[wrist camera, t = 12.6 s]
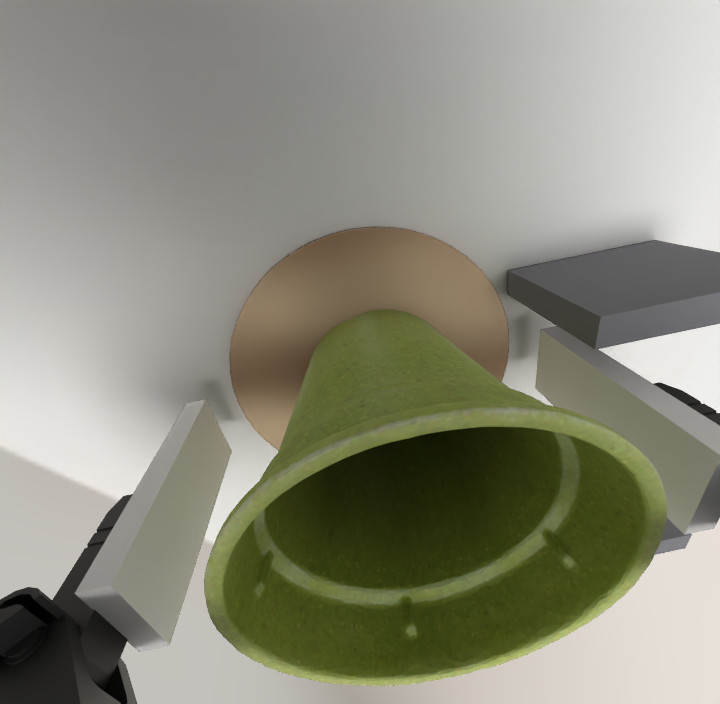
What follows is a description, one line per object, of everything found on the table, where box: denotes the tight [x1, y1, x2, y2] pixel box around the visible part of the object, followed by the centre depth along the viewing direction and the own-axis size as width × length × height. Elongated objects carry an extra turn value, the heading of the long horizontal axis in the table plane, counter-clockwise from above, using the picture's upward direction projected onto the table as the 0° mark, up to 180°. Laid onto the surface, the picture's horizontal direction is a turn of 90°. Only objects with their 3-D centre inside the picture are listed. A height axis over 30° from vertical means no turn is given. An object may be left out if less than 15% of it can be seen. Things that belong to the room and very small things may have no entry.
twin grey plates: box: [507, 240, 720, 555], centre depth 14 cm, size 13×6×5 cm, turn 10°
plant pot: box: [204, 309, 667, 686], centre depth 11 cm, size 9×9×9 cm
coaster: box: [230, 227, 509, 450], centre depth 15 cm, size 12×12×1 cm
